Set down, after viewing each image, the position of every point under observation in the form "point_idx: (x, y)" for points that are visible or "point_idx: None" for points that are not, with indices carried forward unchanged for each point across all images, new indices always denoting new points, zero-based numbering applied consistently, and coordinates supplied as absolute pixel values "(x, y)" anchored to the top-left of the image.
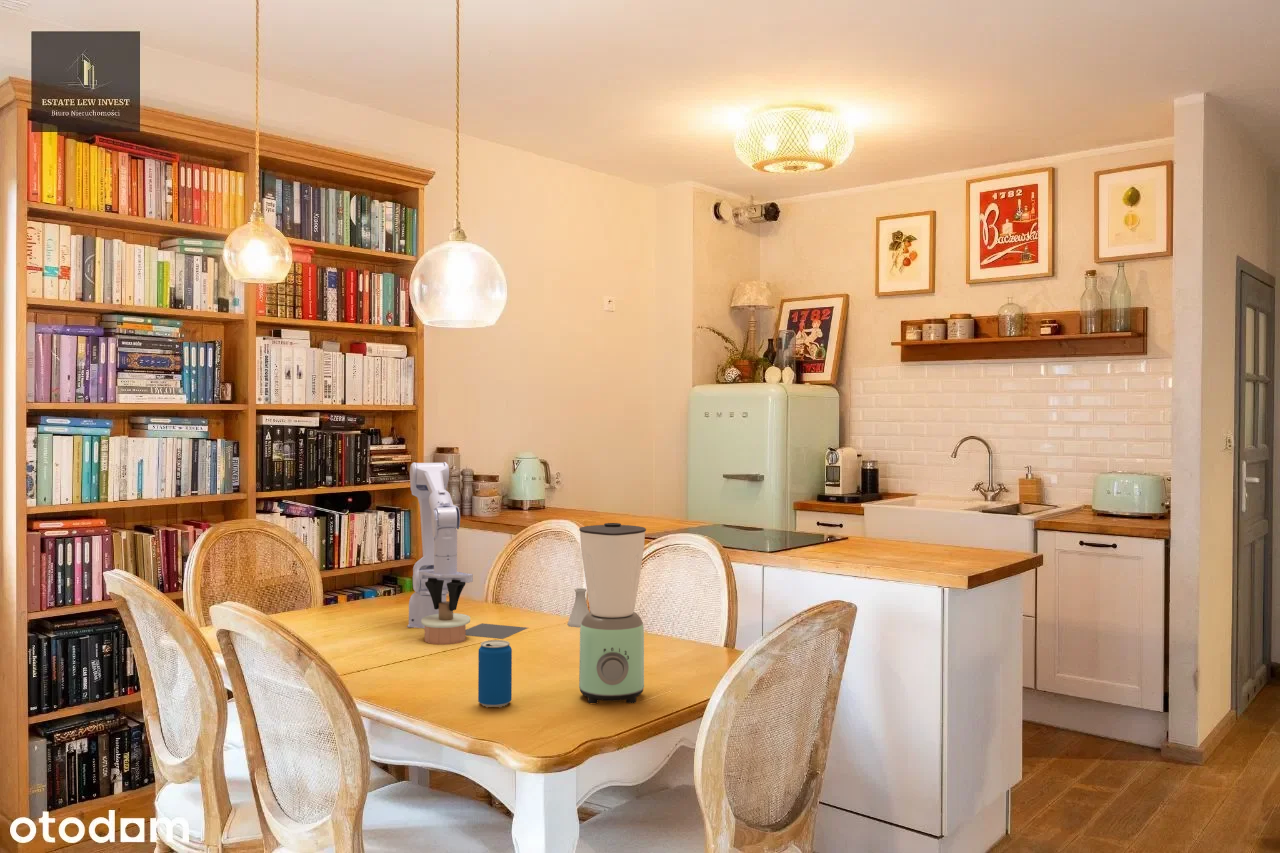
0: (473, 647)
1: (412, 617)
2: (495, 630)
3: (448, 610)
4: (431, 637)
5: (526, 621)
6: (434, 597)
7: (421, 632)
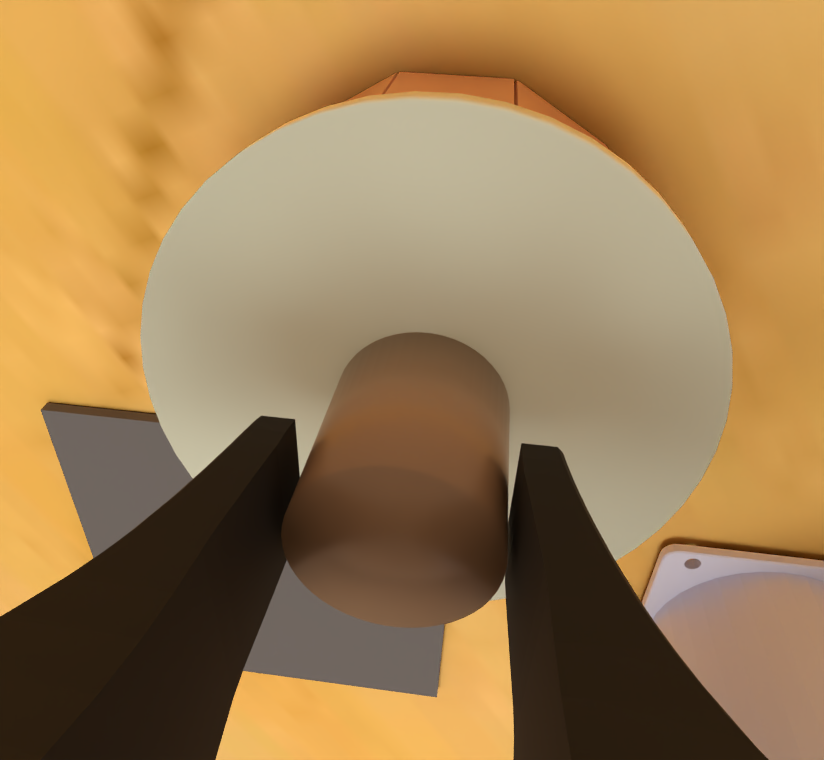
0: (60, 123)
1: None
2: None
3: (325, 430)
4: (488, 94)
5: (258, 755)
6: (552, 573)
7: (780, 481)
